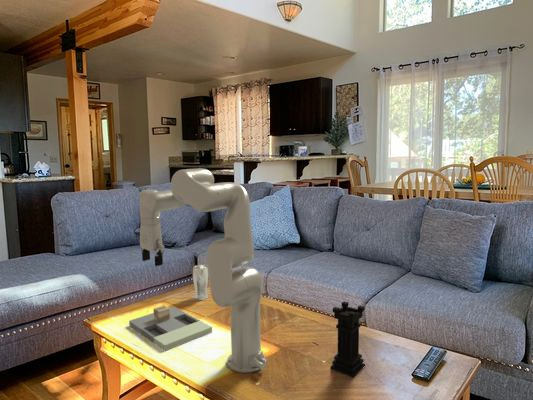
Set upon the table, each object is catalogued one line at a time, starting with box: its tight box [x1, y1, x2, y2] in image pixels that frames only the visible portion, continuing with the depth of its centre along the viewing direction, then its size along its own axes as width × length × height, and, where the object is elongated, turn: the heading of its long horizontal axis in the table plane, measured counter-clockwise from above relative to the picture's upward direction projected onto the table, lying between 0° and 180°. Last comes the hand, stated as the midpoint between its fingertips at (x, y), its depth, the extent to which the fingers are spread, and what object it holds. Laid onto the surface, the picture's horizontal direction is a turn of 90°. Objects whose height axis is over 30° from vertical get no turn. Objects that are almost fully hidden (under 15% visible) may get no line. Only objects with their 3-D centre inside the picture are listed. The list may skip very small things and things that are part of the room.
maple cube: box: [152, 305, 170, 323], centre depth 162 cm, size 4×4×4 cm
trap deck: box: [128, 306, 213, 351], centre depth 158 cm, size 28×20×2 cm
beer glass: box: [192, 264, 209, 301], centre depth 189 cm, size 7×7×15 cm
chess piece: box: [330, 301, 366, 378], centre depth 128 cm, size 8×8×20 cm
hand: (152, 262), depth 164 cm, fingers open, 9 cm apart
